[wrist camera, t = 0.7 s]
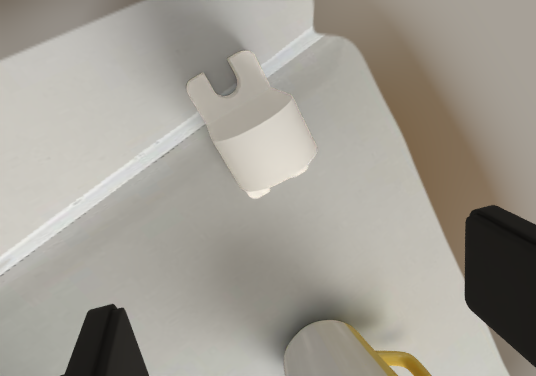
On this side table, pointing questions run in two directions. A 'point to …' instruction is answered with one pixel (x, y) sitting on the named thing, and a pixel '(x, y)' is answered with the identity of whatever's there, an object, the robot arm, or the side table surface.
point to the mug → (342, 354)
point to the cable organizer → (254, 127)
